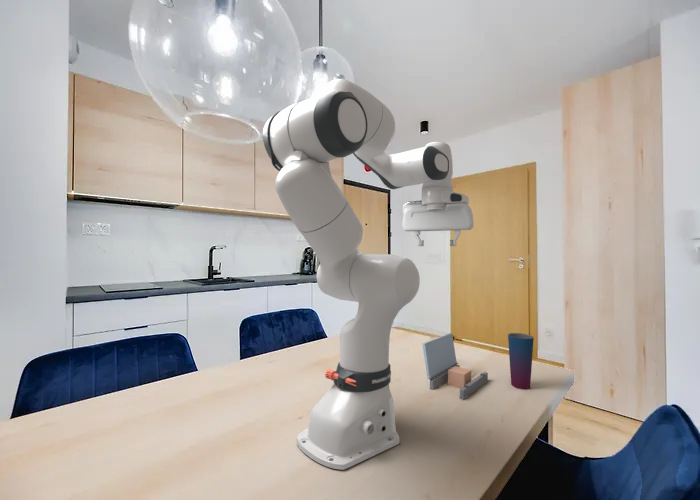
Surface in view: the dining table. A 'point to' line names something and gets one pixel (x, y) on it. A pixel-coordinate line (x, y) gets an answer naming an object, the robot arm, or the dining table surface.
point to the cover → (439, 355)
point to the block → (459, 377)
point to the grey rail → (467, 388)
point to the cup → (520, 359)
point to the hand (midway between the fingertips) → (436, 246)
